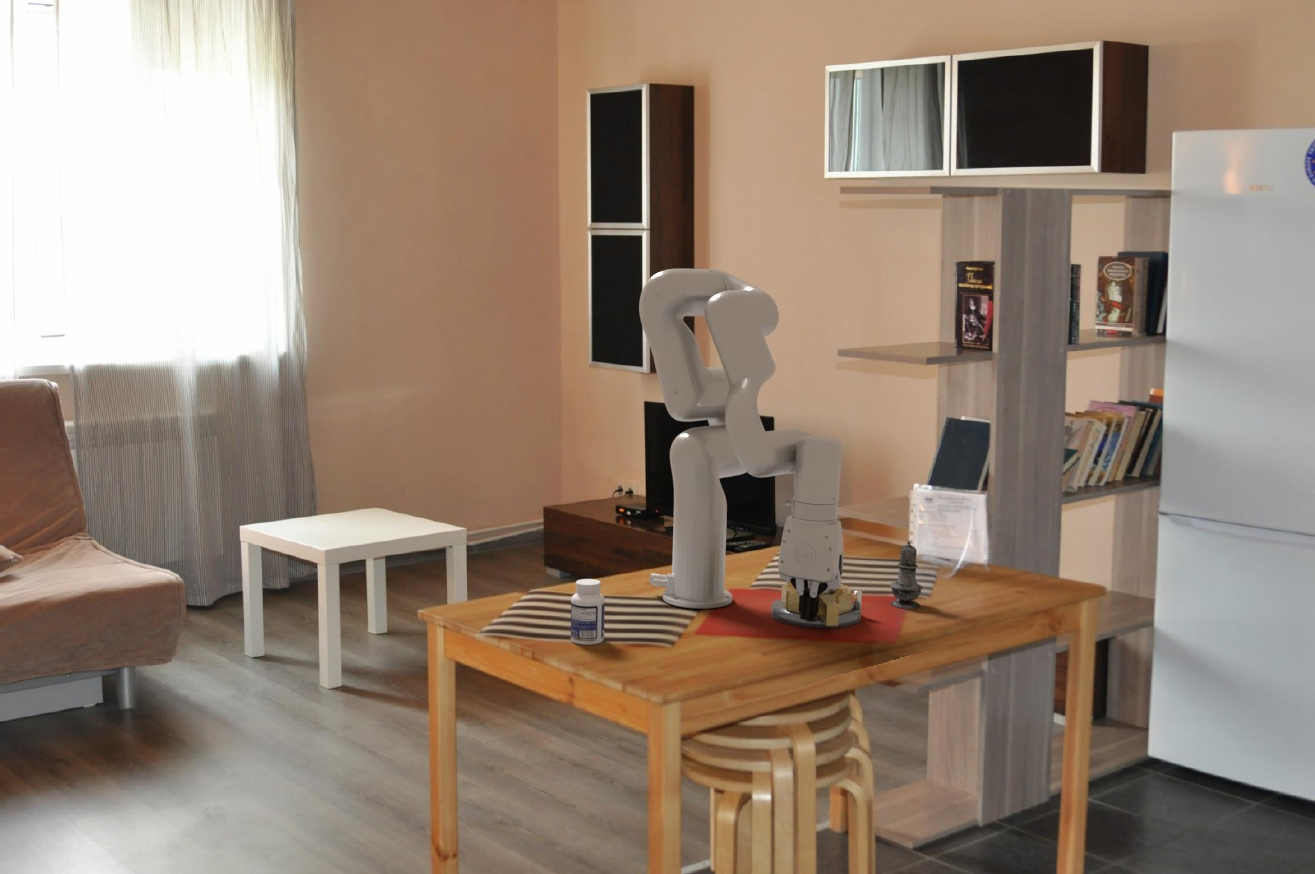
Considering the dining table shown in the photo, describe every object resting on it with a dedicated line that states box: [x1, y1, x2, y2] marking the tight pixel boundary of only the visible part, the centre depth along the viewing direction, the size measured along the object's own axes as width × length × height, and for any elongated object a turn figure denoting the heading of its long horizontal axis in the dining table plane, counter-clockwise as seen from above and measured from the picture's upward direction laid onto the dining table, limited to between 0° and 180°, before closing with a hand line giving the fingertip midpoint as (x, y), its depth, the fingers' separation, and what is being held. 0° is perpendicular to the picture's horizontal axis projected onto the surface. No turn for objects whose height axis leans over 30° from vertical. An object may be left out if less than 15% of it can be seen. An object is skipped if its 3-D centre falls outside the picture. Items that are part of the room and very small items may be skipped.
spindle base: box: [770, 581, 863, 630], centre depth 232 cm, size 16×16×9 cm
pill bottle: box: [570, 578, 606, 646], centre depth 213 cm, size 5×5×10 cm
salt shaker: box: [889, 540, 924, 610], centre depth 241 cm, size 6×6×12 cm
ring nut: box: [780, 582, 853, 626], centre depth 229 cm, size 18×12×4 cm, turn 6°
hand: (807, 617), depth 223 cm, fingers closed
